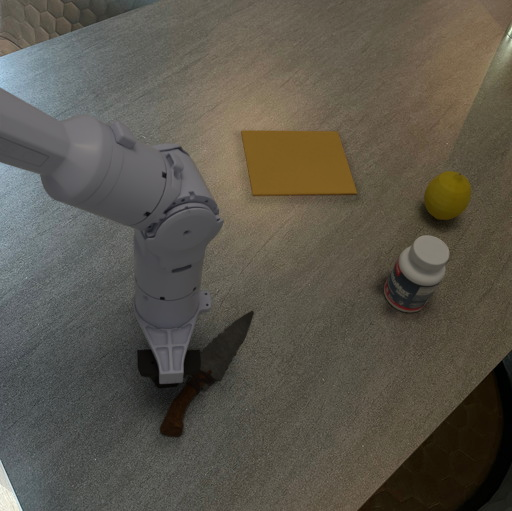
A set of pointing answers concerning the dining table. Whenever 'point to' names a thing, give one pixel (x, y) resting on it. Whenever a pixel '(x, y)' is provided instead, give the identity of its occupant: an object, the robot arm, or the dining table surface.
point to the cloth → (297, 163)
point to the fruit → (447, 195)
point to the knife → (206, 372)
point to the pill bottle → (417, 274)
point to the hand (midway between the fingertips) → (164, 350)
